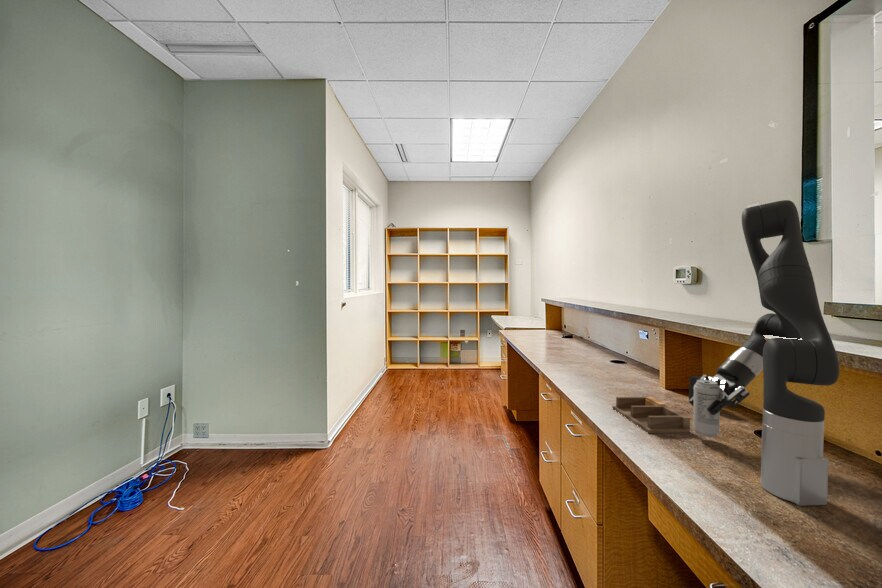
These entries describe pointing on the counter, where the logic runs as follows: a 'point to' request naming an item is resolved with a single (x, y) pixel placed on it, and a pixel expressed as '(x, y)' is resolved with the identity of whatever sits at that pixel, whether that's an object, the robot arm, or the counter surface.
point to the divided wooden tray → (652, 415)
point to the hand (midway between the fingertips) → (700, 408)
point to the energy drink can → (705, 408)
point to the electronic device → (692, 385)
